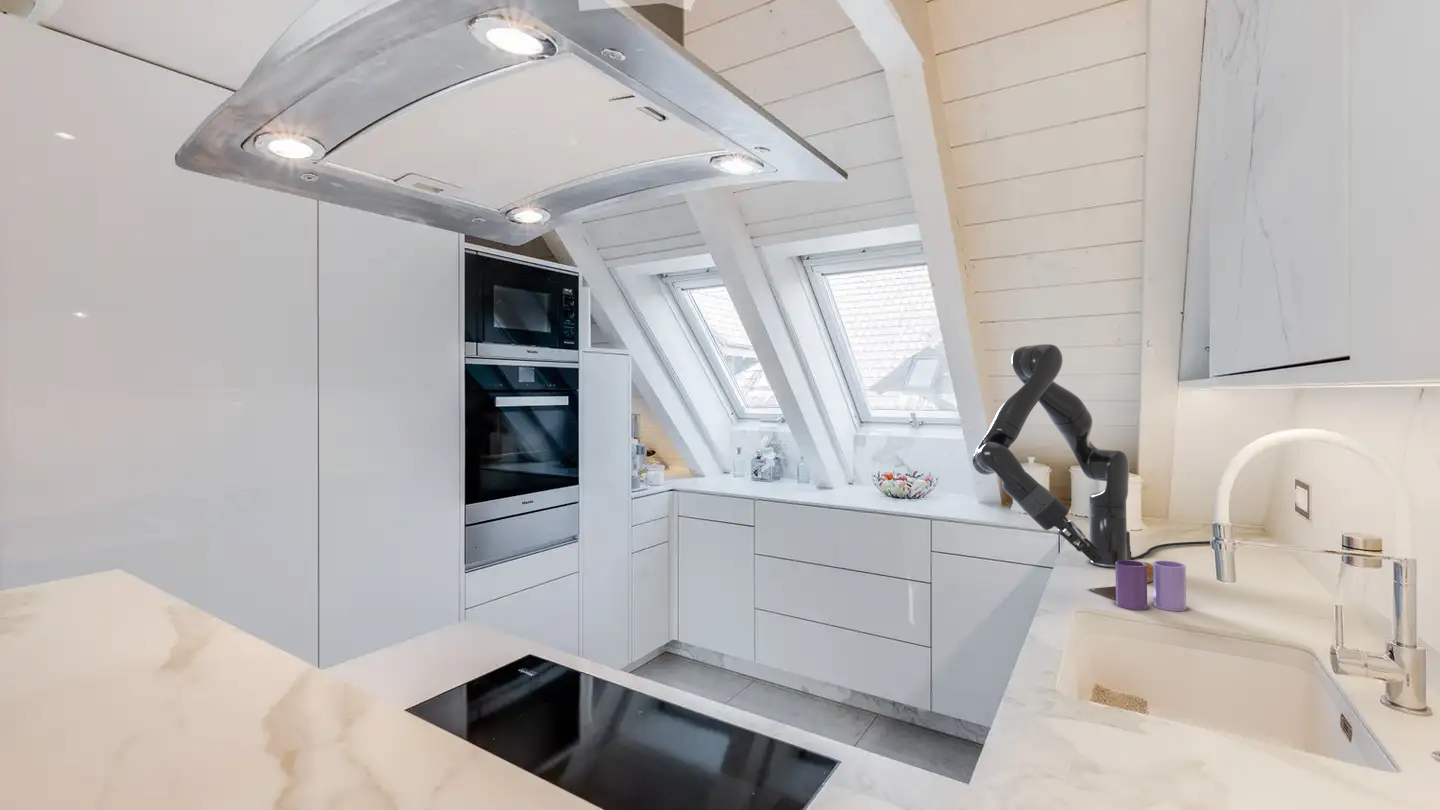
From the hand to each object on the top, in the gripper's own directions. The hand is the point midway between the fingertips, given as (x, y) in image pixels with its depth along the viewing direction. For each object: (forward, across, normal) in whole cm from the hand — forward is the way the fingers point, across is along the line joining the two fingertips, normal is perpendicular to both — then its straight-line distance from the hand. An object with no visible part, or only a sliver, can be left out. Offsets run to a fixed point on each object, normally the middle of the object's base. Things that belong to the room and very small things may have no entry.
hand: (1096, 556), depth 155 cm
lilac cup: (+18, +2, -3) cm, 19 cm away
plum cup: (+13, 0, +3) cm, 13 cm away
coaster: (+11, +9, +4) cm, 15 cm away
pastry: (+17, +26, -1) cm, 31 cm away
